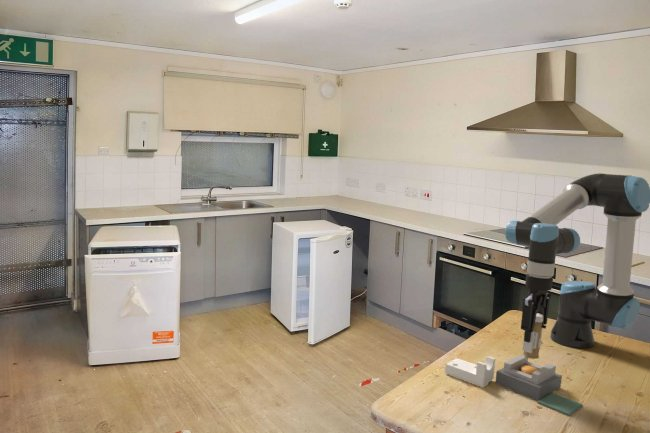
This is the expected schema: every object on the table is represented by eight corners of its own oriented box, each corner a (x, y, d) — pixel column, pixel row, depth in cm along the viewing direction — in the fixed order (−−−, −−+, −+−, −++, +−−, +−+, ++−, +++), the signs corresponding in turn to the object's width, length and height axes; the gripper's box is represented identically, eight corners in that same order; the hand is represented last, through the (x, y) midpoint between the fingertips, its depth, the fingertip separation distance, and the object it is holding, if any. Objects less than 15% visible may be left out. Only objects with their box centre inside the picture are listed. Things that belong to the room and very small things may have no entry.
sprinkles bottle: (541, 357, 165) (546, 315, 163) (532, 360, 163) (537, 317, 161) (528, 352, 169) (533, 310, 167) (519, 355, 166) (524, 312, 165)
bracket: (493, 381, 170) (495, 358, 169) (482, 388, 165) (485, 364, 164) (455, 368, 178) (457, 346, 177) (444, 374, 173) (446, 352, 172)
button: (525, 373, 170) (526, 364, 170) (539, 378, 167) (540, 369, 166) (517, 377, 167) (518, 368, 167) (532, 382, 164) (533, 373, 163)
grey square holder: (518, 371, 177) (520, 351, 176) (560, 387, 167) (562, 366, 166) (495, 383, 168) (497, 361, 167) (538, 401, 158) (541, 378, 157)
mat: (552, 394, 162) (552, 392, 162) (582, 406, 156) (583, 404, 156) (537, 403, 156) (537, 401, 156) (568, 416, 150) (569, 414, 150)
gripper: (541, 269, 171) (533, 340, 174) (513, 276, 159) (505, 352, 163) (565, 274, 165) (556, 347, 169) (537, 282, 154) (528, 360, 157)
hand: (531, 349), depth 166 cm, fingers closed on sprinkles bottle, 4 cm apart
